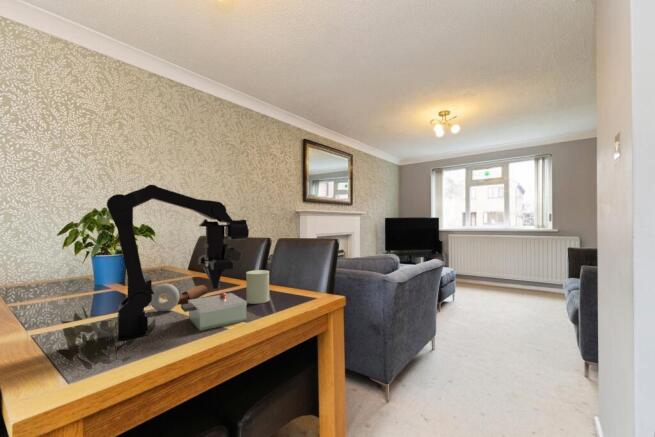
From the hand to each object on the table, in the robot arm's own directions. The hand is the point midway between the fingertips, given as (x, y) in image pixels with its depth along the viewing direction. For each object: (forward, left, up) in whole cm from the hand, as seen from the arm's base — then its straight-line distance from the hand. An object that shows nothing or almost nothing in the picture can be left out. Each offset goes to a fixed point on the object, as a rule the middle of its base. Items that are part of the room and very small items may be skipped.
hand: (215, 288), depth 94 cm
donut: (-11, +21, -10) cm, 26 cm away
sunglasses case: (0, +35, -11) cm, 37 cm away
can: (+21, +13, -10) cm, 26 cm away
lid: (-1, 0, -5) cm, 5 cm away
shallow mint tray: (+1, 0, -10) cm, 10 cm away
